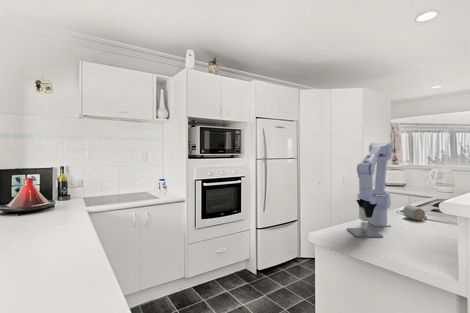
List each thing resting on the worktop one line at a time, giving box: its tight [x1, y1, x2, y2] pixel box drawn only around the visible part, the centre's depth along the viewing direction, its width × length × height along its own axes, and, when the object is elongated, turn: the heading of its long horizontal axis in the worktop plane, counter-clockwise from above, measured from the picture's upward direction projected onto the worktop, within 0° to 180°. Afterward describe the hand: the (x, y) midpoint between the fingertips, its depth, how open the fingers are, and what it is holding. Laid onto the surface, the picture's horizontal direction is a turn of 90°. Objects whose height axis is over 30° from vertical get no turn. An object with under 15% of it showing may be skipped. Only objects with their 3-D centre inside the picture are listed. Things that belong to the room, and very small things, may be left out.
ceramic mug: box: [402, 204, 428, 221], centre depth 146 cm, size 11×8×8 cm
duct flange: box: [346, 221, 384, 239], centre depth 124 cm, size 12×12×5 cm
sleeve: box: [358, 205, 374, 222], centre depth 123 cm, size 5×5×6 cm
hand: (366, 215), depth 123 cm, fingers closed on sleeve, 5 cm apart
